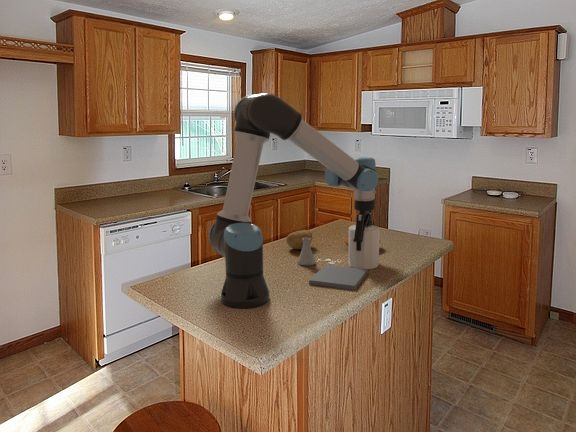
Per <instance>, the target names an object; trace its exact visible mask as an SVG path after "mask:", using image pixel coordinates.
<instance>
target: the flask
mask: <svg viewBox="0 0 576 432" xmlns="http://www.w3.org/2000/svg"><path fill="white" fill-rule="evenodd" d="M310 240H311V239H310V238H303V248H302V249H301V252H300V255H299V256H298V257H299V258H298V260H297V264H298V265H300V266H304V267H305V266H314V265H315V264H317V262H316V259H315V257H314V254H313V252H312V248H311V243H310Z"/></svg>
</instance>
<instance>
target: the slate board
mask: <svg viewBox="0 0 576 432" xmlns="http://www.w3.org/2000/svg"><path fill="white" fill-rule="evenodd" d="M368 270H369V269H358V268H353V267H350V266H349V267H347V266H338V265H330V264H329V265H328V264H325V265H324V266H323V267H322V268H320V269H319V270H318V271H317V272H316V273H315V274H314V275H313V276H312V277H311V278H310V279H308V284H309V285H312V286H318V287H319V286H320V287H326V288H327V287H328V288H338V289H343V290H350V291H351V290H352V291H355V290H356V289H357V288H358V287H359V285H360V284H361V283H362V281H363V280H364V279H365V278H366V276H367V275H368V274H369V273H368V272H369V271H368Z"/></svg>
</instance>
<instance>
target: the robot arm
mask: <svg viewBox="0 0 576 432" xmlns="http://www.w3.org/2000/svg"><path fill="white" fill-rule="evenodd" d="M233 117H234V121H235V125H234V130H233V132H234V135H235V136H236V137H237V140H236V146H235V149H234V154H233V159H232V164H231V169H230V173H229V178H228V183H227V187H226V188H227V189H226V191H225V198H224V201H223V207H222V209H221V210H220V211H219V212H217V213H216V218H215V222H213V224H212V225H211V227H210V228H209V231H208V240H209V243H210V245H211V247H212V249H214V251H215V252H216V253H217V254H219V255H221V257H223V258H224V261H225V279H224V282H223V286H222V289H221V293H220V297H221V299H220V300H221V301H220V302H221V303H222V304H223V305H225V306H227V307H231V308H235V309H251V308H257V307H260V306H263V305H265V304H266V303H268V302H269V301H270V289H269V287H268V283H267V282H266V279H265V276H264V250H263V249H264V247H263V246H264V243H263V242H264V237H263V233H262V229H261V228H260V227H259V226H257V224H253V223H252V219H251V218H250V216H249V212H250V209H251V208H250V207H251V203H252V199H253V194H254V190H255V189H254V188H255V184H256V179H257V176H258V172H259V165H260V160H261V157H262V156H261V155H262V151H263V148H264V144H265V143H267V142H268V141H269V140H270V137H271V134H273V135H275V136H277V137H279V138H280V139H281V140H283V141H290V142H291V143H292V144H293V145H295V146H296V147H298V149H299V148H300V150H302V151H303V152H305V153H306V154H308V155H309V156H310V157H312V158H313V159H314V160H315V161H317V162H319V163H320V164H322V166H324V167H325V168H326V169H325V171H324V180H325V182H326V184H327V185H328V186H330V187H345V188H349V189H354V203H353V207H354V210H356V211H359V214H356V221H355V222H356V223H355V225H356V228H355V236H354V239H353V242H356V246H355V259H363V242H362V241H363V235H364V230H365V227H366V226H367V225H368V226H370V225H373V224H374V223H373V215H372V212H373V211H374V210H375V207H376V206H375V205H376V204H375V202H376V201H375V198H376V197H375V196H376V194H377V191H376V187H377V186H378V183H379V175H378V173H377V172H376V171H377V167H376V159H375V158H373V157H363V156H362V157H356V158H355V159H354V158H353V157H352V156H351V155H349V154H348V153H346V151H344V150H342V149H341V148H340V147H339V146H338V145H336V144H335V143H334V142H332V141H331V140H330V139H328V138H327V137H326V136H324V134H323V133H320V132H319V131H318V130H317V129H316V128H314V127H313V126H312V125H310V124H309V123H308V122H306V121H305V120H304V119H303V115H302V114H301V113H300V112H299V111H297V110H296V109H295V108H294V107H292V106H291V105H290V104H289V103H288V102H286V101H285V100H284V99H283V98H281V97H279V96H277V95H275V94H272V93H268V92H263V93H253V94H252V93H251V94H248V95H246V96H243V97H242V98H241V99H239V100H238V102H237V103H236V105H235V107H234V111H233Z"/></svg>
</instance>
